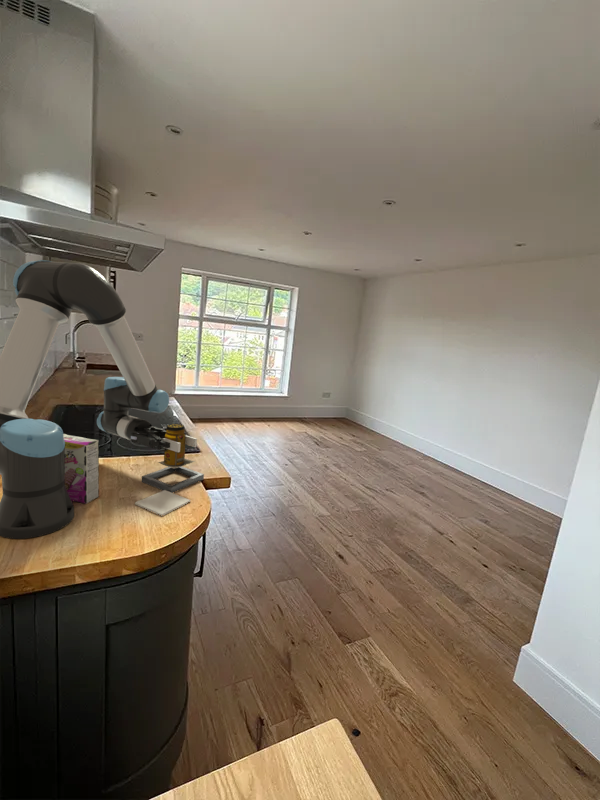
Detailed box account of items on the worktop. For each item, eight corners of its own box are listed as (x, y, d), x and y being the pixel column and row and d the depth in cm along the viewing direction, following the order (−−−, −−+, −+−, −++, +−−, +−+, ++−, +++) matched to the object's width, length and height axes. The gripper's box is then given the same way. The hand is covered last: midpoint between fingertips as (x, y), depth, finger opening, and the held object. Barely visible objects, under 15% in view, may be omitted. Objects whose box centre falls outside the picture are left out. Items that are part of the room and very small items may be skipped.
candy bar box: (48, 497, 98) (47, 438, 95) (64, 490, 103) (62, 433, 100) (86, 505, 96) (85, 444, 93) (99, 497, 101) (99, 439, 98)
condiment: (157, 463, 114) (158, 425, 111) (179, 456, 121) (181, 420, 119) (173, 469, 110) (175, 430, 108) (195, 462, 117) (197, 425, 115)
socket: (171, 493, 107) (171, 487, 107) (141, 481, 112) (141, 476, 112) (203, 479, 119) (203, 474, 118) (175, 469, 124) (175, 464, 124)
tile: (161, 516, 94) (161, 514, 94) (135, 504, 99) (135, 502, 99) (190, 502, 103) (190, 500, 103) (164, 491, 108) (164, 489, 108)
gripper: (158, 435, 130) (208, 450, 120) (108, 446, 114) (162, 465, 103) (159, 414, 129) (210, 427, 119) (108, 422, 113) (163, 439, 102)
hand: (187, 445), depth 111 cm, fingers closed on condiment, 6 cm apart
